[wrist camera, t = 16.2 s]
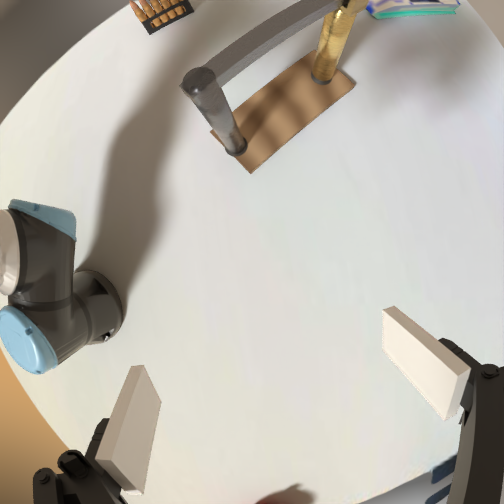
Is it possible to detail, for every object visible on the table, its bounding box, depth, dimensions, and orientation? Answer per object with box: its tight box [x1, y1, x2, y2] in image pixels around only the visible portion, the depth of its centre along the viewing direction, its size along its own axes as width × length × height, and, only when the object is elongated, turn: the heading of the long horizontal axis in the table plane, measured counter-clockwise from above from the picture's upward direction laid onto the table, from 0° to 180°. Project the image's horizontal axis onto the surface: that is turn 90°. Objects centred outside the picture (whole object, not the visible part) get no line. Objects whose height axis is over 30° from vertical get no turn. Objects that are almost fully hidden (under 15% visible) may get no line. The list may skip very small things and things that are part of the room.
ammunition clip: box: [130, 0, 194, 35], centre depth 39 cm, size 11×2×12 cm, turn 117°
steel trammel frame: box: [180, 0, 350, 154], centre depth 32 cm, size 25×3×24 cm, turn 132°
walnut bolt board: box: [210, 50, 355, 174], centre depth 45 cm, size 25×10×2 cm, turn 132°
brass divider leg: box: [312, 0, 369, 81], centre depth 30 cm, size 4×4×25 cm
